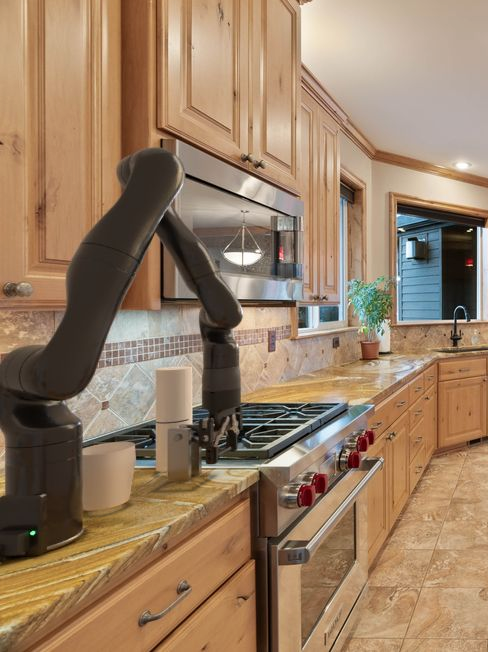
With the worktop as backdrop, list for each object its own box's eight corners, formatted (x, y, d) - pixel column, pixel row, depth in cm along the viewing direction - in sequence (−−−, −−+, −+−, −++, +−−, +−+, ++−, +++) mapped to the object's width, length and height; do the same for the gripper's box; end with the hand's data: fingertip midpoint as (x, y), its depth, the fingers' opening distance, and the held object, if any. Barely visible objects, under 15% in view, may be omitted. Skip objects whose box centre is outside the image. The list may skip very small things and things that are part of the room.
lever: (228, 454, 108) (233, 445, 108) (215, 462, 102) (221, 452, 102) (184, 433, 107) (189, 424, 107) (168, 439, 101) (174, 430, 102)
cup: (91, 502, 94) (91, 443, 94) (144, 497, 97) (144, 440, 96) (63, 522, 85) (63, 457, 85) (122, 515, 88) (122, 452, 88)
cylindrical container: (148, 475, 109) (148, 369, 109) (177, 465, 116) (177, 365, 116) (170, 478, 107) (170, 370, 107) (199, 468, 114) (199, 367, 114)
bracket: (214, 475, 109) (214, 421, 109) (191, 490, 100) (191, 431, 100) (178, 476, 109) (178, 422, 108) (152, 491, 100) (152, 432, 100)
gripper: (221, 381, 112) (221, 448, 112) (185, 392, 98) (185, 469, 98) (253, 380, 113) (253, 447, 113) (222, 392, 98) (223, 467, 99)
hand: (222, 457), depth 105 cm, fingers open, 8 cm apart
